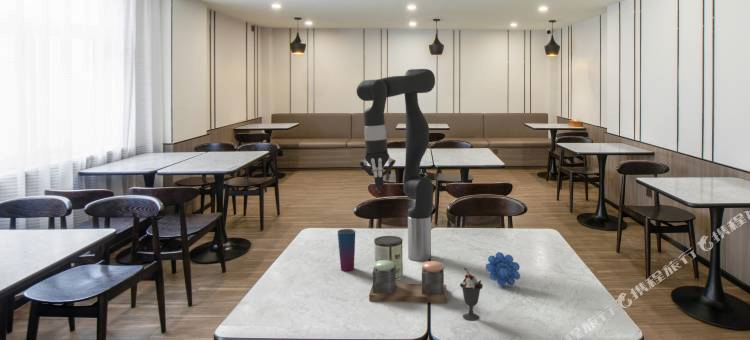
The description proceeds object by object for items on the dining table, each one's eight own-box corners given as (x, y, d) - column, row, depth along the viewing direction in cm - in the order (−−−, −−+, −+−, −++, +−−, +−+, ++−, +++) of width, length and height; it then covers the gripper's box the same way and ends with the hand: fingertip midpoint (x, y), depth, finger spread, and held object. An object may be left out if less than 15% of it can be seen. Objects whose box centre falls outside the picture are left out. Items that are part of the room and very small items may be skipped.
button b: (422, 289, 170) (422, 267, 169) (423, 282, 176) (423, 260, 175) (442, 290, 169) (442, 267, 168) (442, 282, 176) (442, 261, 174)
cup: (353, 272, 197) (352, 233, 195) (336, 271, 198) (335, 233, 196) (358, 266, 203) (357, 229, 201) (341, 265, 205) (340, 228, 203)
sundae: (457, 313, 160) (457, 265, 158) (478, 311, 160) (479, 264, 158) (462, 322, 153) (462, 273, 151) (485, 321, 154) (485, 272, 152)
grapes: (485, 289, 178) (486, 255, 176) (485, 282, 185) (485, 249, 183) (521, 291, 176) (522, 256, 174) (519, 283, 183) (520, 250, 181)
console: (369, 300, 170) (368, 274, 169) (373, 288, 181) (372, 263, 180) (446, 303, 167) (446, 276, 166) (446, 290, 178) (446, 264, 177)
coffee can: (381, 270, 199) (381, 234, 197) (407, 274, 194) (406, 237, 192) (370, 279, 190) (369, 241, 187) (396, 283, 185) (395, 244, 183)
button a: (373, 288, 172) (373, 266, 171) (376, 281, 178) (375, 259, 177) (393, 288, 171) (393, 266, 170) (394, 281, 177) (394, 260, 176)
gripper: (396, 135, 184) (399, 184, 187) (359, 138, 186) (363, 185, 189) (393, 138, 176) (396, 188, 179) (354, 140, 179) (358, 190, 182)
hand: (379, 187), depth 184 cm, fingers closed
